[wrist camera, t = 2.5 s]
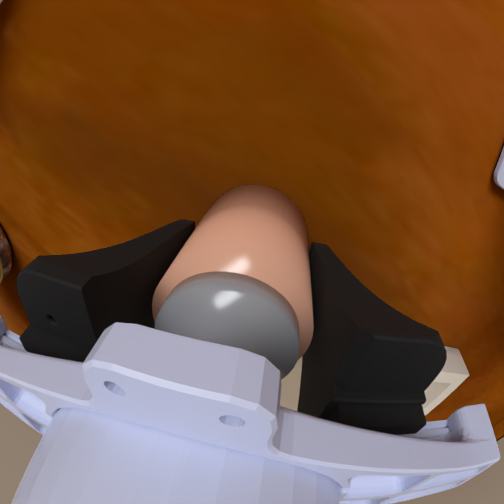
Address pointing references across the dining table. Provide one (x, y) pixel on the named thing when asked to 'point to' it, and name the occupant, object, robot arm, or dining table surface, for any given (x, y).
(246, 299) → the shaker
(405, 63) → the dining table surface
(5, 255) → the sauce bottle
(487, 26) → the dining table surface
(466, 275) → the dining table surface
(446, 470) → the robot arm
